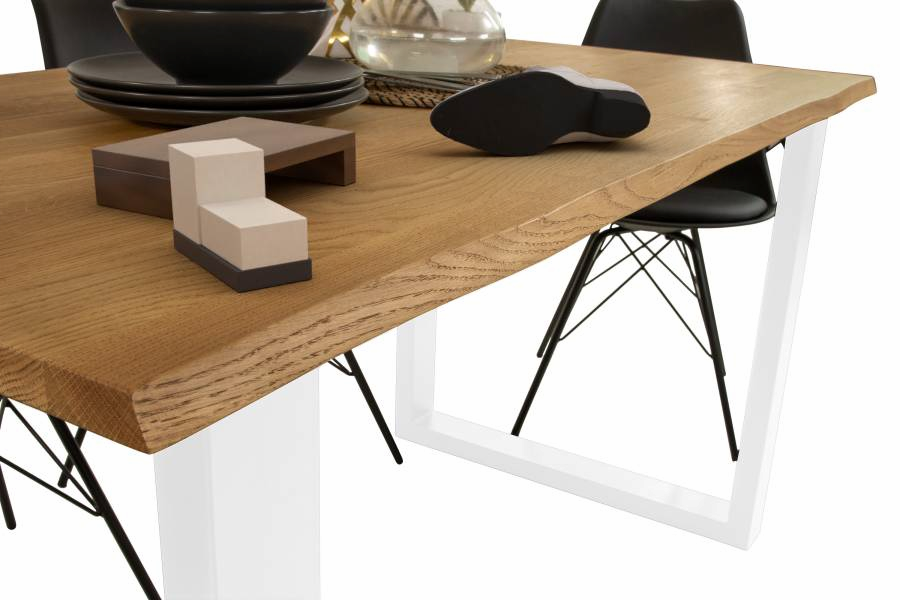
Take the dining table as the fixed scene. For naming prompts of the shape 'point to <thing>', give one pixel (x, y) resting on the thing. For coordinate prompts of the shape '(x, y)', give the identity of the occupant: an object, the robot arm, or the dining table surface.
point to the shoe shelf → (284, 144)
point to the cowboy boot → (540, 112)
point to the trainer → (234, 216)
